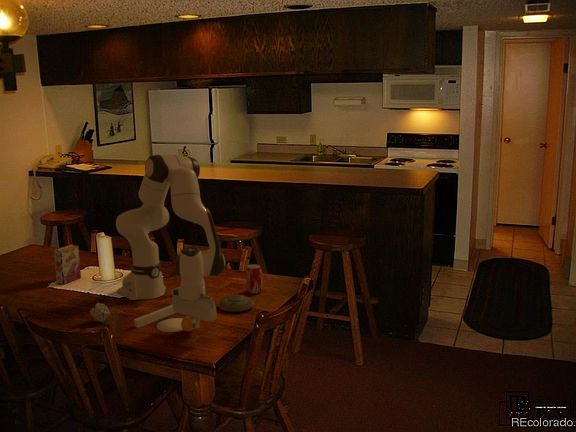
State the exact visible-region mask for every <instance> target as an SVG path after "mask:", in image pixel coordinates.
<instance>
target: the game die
mask: <svg viewBox="0 0 576 432" xmlns="http://www.w3.org/2000/svg"><path fill="white" fill-rule="evenodd" d="M109 307H110V306H109V305H108V302H106V303H101V302H99V301H98V300H96V304H95V305H93V307H91V309H90V310H87V312H89V314H90V315H91V320H93V322H92V323H95V322H99V323H102V325H104V324H105V321H106V320H107V319H108V318H109V317H110V316H111V315H114V313H111V310H110V308H109Z"/></svg>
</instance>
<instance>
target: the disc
mask: <svg viewBox="0 0 576 432" xmlns="http://www.w3.org/2000/svg"><path fill="white" fill-rule="evenodd" d="M183 318H184V317H183ZM183 318H182V317H181V318H180V317H174V318H172V317H171V318H167V319H164V320H162V321H160V322H158V323H157V324H156V329H157V330H158V331H160V332H163V333H164V332H165V333H176V332H182V331H184V330H183V329H182V327H181V321H182V319H183Z"/></svg>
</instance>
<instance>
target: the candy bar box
mask: <svg viewBox="0 0 576 432" xmlns="http://www.w3.org/2000/svg"><path fill="white" fill-rule="evenodd" d="M53 257H54V260H53V261H54V267H55V280H56V281H55V282H56V284H57V285H62V286H63V285H67V284H69V283H71V282H74V281H77V280H79V279H81V278H82V273H81V260H80V247H79V245H77V244H69V245H66V246H63V247H60V248H56V249H53Z"/></svg>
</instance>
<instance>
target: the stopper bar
mask: <svg viewBox="0 0 576 432" xmlns="http://www.w3.org/2000/svg"><path fill="white" fill-rule="evenodd" d="M176 313H177V312H175V311H174V309H173V304H170V305H168V306H165V307H162V308H161V309H158V310H154V311H151V312H150V313H147V314H145V315H142V316H139V317H137V318H134V319H133V323H134V328H136V329H139V328H142V327H143V326H146V325H149V324H151V323H154V322H156V321H159V320H161V319H164V318H167V317H169V316H172V315H174V314H176ZM177 314H178V313H177Z"/></svg>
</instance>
